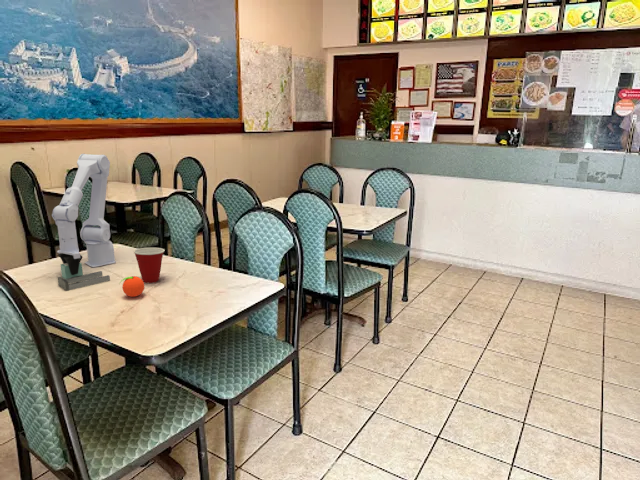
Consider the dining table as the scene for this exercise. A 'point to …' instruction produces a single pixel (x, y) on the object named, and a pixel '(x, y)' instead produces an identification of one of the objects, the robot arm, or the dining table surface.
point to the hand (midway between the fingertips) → (72, 272)
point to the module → (66, 271)
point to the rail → (66, 282)
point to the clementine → (133, 286)
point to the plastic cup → (149, 263)
